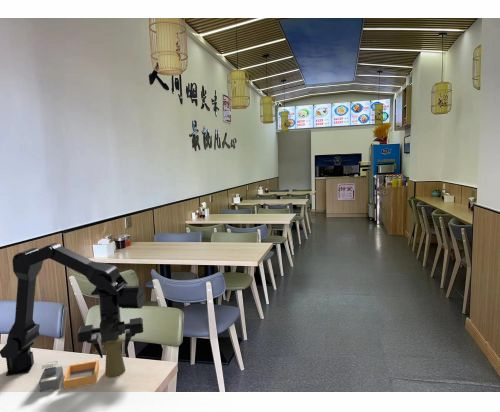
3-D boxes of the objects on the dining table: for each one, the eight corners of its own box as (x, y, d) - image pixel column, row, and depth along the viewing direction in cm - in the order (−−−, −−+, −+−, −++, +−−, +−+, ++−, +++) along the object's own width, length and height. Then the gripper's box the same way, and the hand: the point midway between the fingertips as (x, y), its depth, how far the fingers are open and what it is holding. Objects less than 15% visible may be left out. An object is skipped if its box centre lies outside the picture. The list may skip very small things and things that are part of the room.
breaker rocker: (41, 369, 111) (41, 365, 111) (47, 366, 116) (46, 362, 116) (53, 367, 111) (53, 363, 112) (57, 364, 117) (57, 361, 117)
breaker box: (39, 392, 110) (37, 376, 110) (45, 378, 117) (43, 363, 116) (58, 388, 112) (57, 373, 111) (63, 375, 119) (61, 360, 118)
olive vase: (119, 378, 116) (116, 344, 114) (101, 376, 117) (97, 343, 116) (129, 367, 122) (126, 334, 120) (111, 365, 123) (109, 333, 121)
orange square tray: (64, 389, 111) (63, 381, 111) (69, 372, 120) (68, 365, 119) (96, 383, 114) (95, 375, 114) (99, 367, 122) (98, 360, 122)
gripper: (72, 323, 106) (77, 375, 108) (141, 313, 111) (145, 363, 114) (77, 308, 117) (82, 355, 119) (141, 299, 122) (144, 345, 124)
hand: (113, 355), depth 119 cm, fingers open, 7 cm apart
